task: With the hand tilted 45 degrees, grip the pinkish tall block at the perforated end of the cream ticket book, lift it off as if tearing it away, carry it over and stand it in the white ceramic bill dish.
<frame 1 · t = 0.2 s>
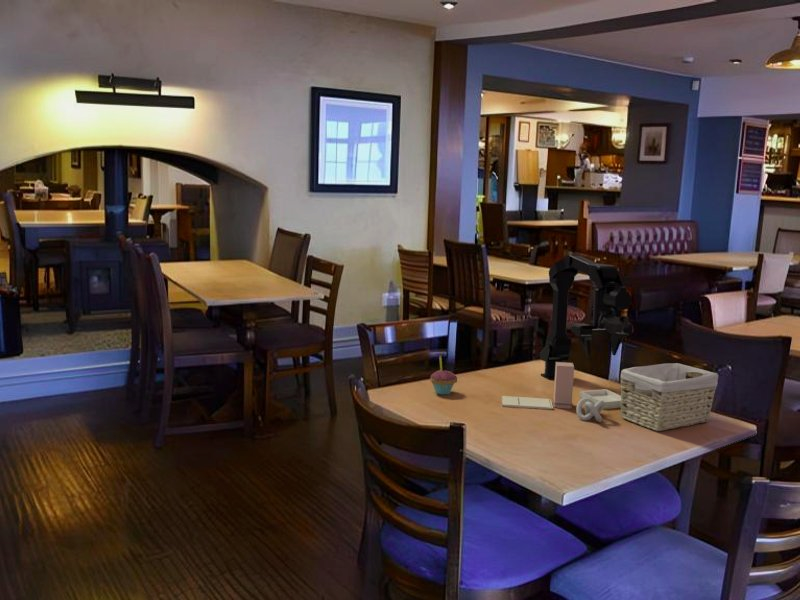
hand: (601, 355, 219), 14 cm above the table, tool pointing down, fingers open, 9 cm apart
knot: (591, 421, 202), on the table
pinkish tall block: (562, 405, 215), on the table
ticket book: (526, 403, 216), on the table
cupcake: (443, 393, 225), on the table
bill dish: (604, 402, 220), on the table
storage basket: (665, 421, 203), on the table, touching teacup
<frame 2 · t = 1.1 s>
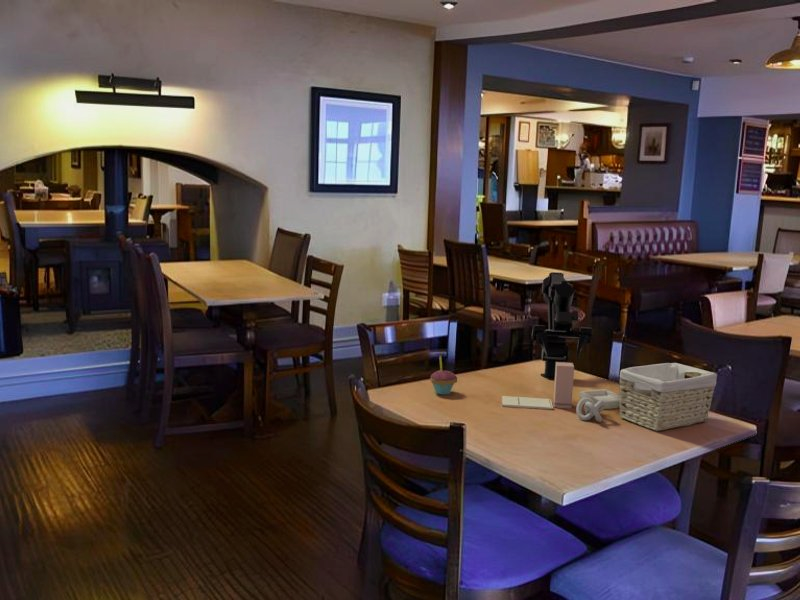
hand: (562, 356, 220), 13 cm above the table, tool tilted 45°, fingers open, 9 cm apart
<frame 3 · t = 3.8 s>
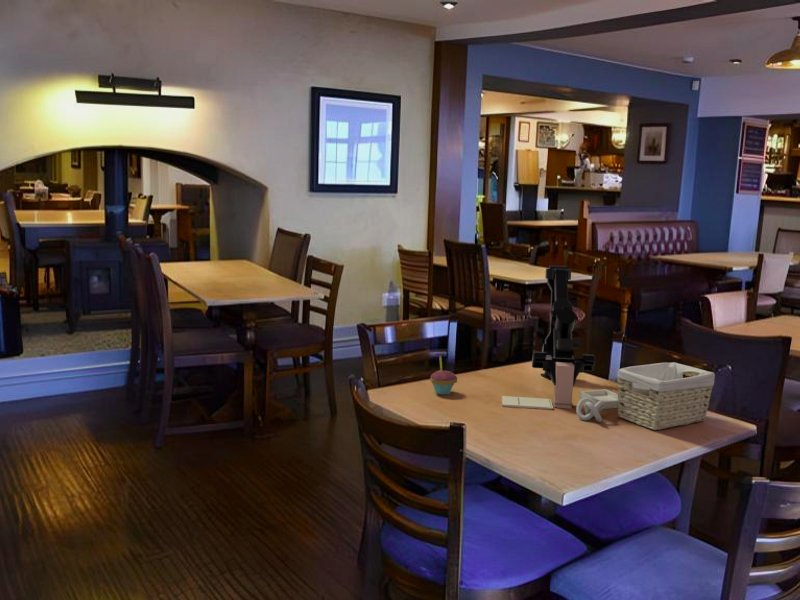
hand: (564, 385, 212), 7 cm above the table, tool tilted 45°, fingers closed on pinkish tall block, 5 cm apart
pinkish tall block: (562, 405, 215), on the table, touching gripper
when the fingers open (9 cm above the table, at t = 7.1 s): pinkish tall block drops 1 cm, resting on bill dish.
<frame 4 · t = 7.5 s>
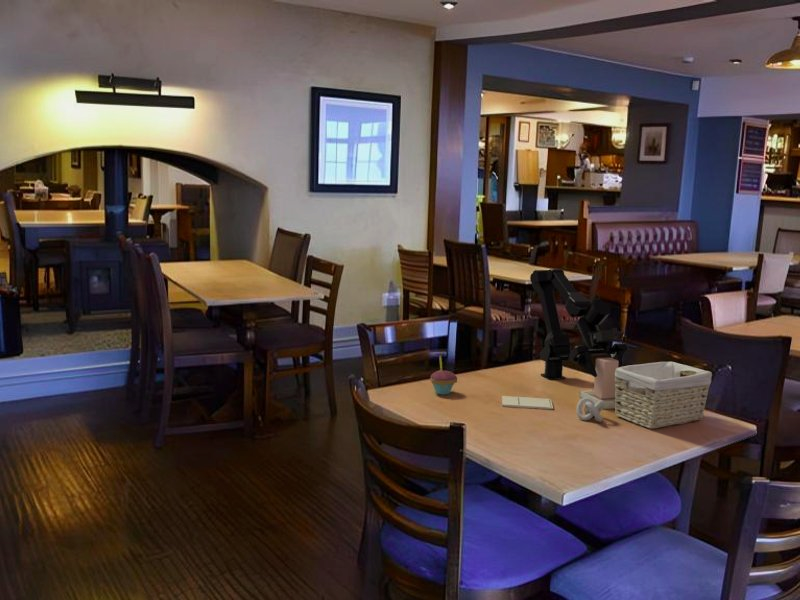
hand: (608, 375, 217), 9 cm above the table, tool tilted 45°, fingers open, 9 cm apart
pinkish tall block: (604, 400, 220), point 1 cm above the table, touching bill dish
storage basket: (659, 419, 205), on the table, touching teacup
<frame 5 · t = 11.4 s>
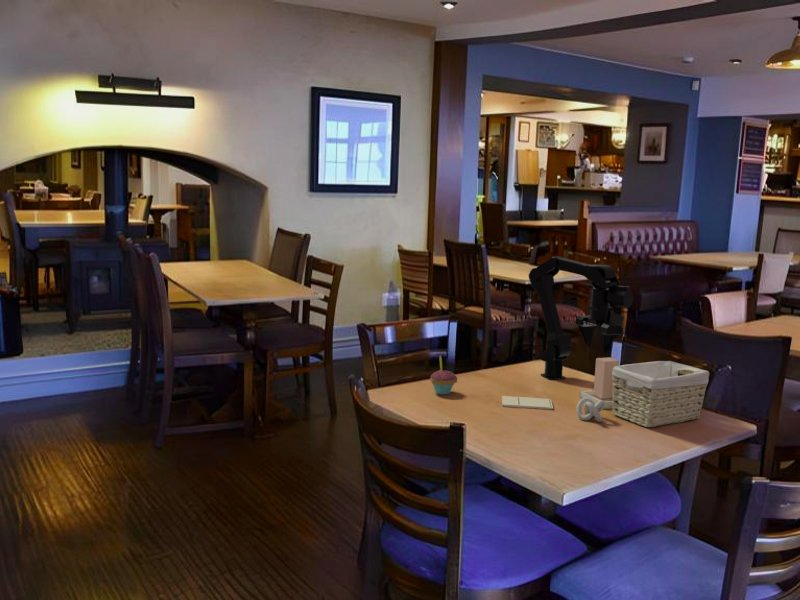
hand: (597, 350, 233), 13 cm above the table, tool pointing down, fingers open, 9 cm apart
storage basket: (656, 418, 206), on the table, touching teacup
at the end: pinkish tall block inside the target area on the bill dish (0.0 cm from its centre), point 0.6 cm above the bill dish's base; pinkish tall block tilted 0°; the gripper is holding nothing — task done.
